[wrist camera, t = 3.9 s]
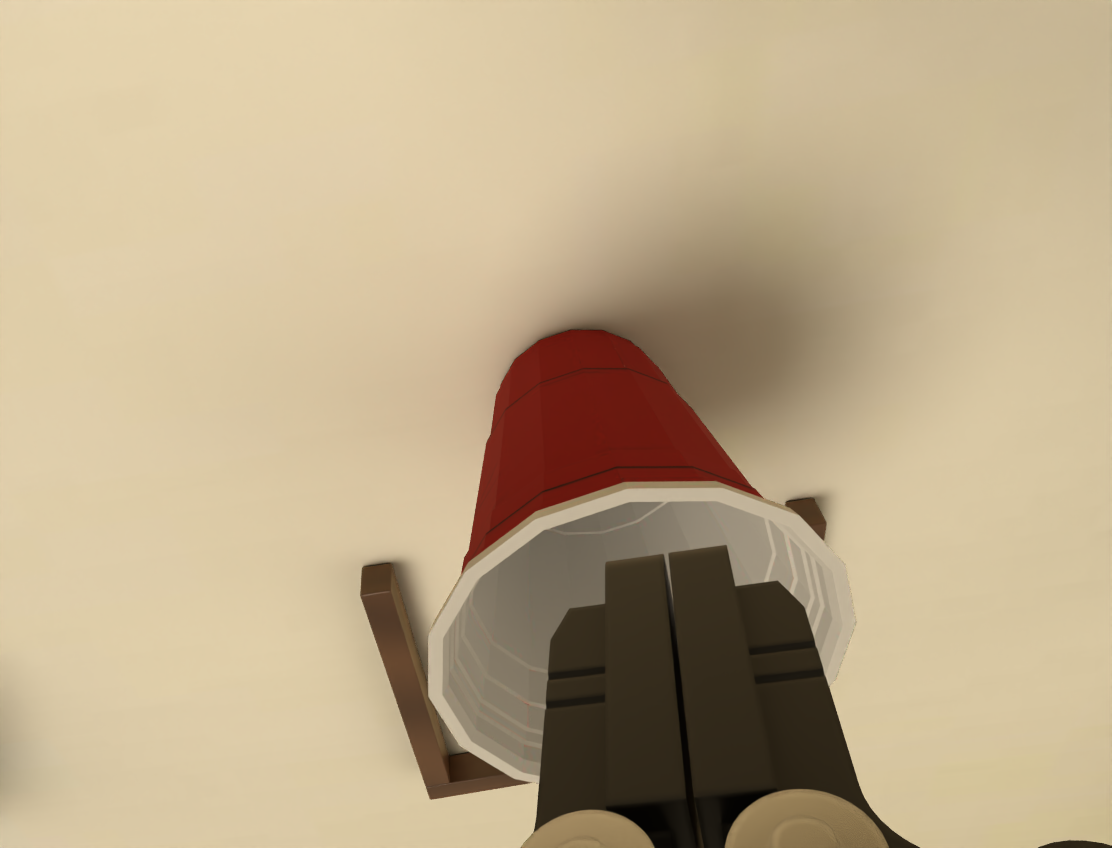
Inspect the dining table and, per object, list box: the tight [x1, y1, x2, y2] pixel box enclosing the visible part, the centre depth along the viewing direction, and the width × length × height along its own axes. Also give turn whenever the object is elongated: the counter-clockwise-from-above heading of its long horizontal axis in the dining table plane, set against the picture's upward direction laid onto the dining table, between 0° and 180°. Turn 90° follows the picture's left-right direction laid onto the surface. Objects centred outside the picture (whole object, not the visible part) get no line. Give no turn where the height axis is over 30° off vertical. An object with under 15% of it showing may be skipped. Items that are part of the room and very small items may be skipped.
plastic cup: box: [428, 330, 856, 784], centre depth 26 cm, size 11×11×12 cm
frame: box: [360, 498, 826, 800], centre depth 40 cm, size 15×18×2 cm
